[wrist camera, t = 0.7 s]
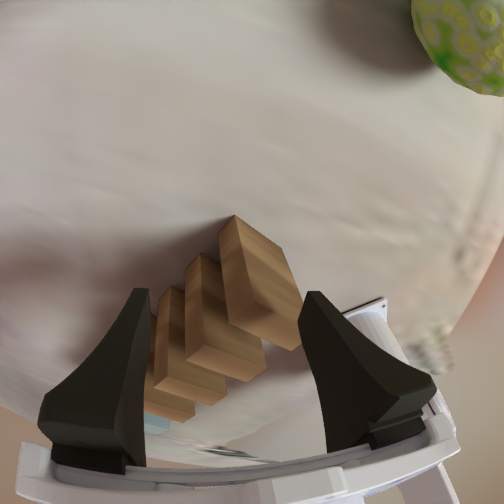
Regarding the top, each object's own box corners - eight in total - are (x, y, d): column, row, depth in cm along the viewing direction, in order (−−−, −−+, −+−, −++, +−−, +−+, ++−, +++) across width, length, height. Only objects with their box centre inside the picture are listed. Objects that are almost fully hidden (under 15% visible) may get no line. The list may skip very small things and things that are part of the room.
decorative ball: (444, 104, 19) (538, 145, 11) (361, 21, 15) (466, 16, 7) (485, 32, 15) (573, 53, 7) (414, -50, 11) (509, -66, 3)
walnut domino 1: (204, 321, 28) (211, 405, 21) (159, 299, 26) (153, 387, 19) (216, 309, 28) (227, 395, 20) (171, 285, 25) (167, 376, 18)
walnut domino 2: (180, 343, 30) (182, 422, 23) (137, 324, 27) (129, 407, 20) (191, 333, 29) (195, 415, 22) (147, 313, 27) (139, 398, 20)
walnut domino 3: (232, 295, 27) (247, 382, 20) (185, 269, 25) (185, 360, 17) (247, 280, 26) (267, 368, 19) (200, 252, 24) (204, 344, 17)
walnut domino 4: (264, 264, 26) (291, 351, 18) (217, 233, 23) (229, 323, 16) (281, 248, 25) (315, 333, 18) (234, 214, 22) (254, 301, 15)
